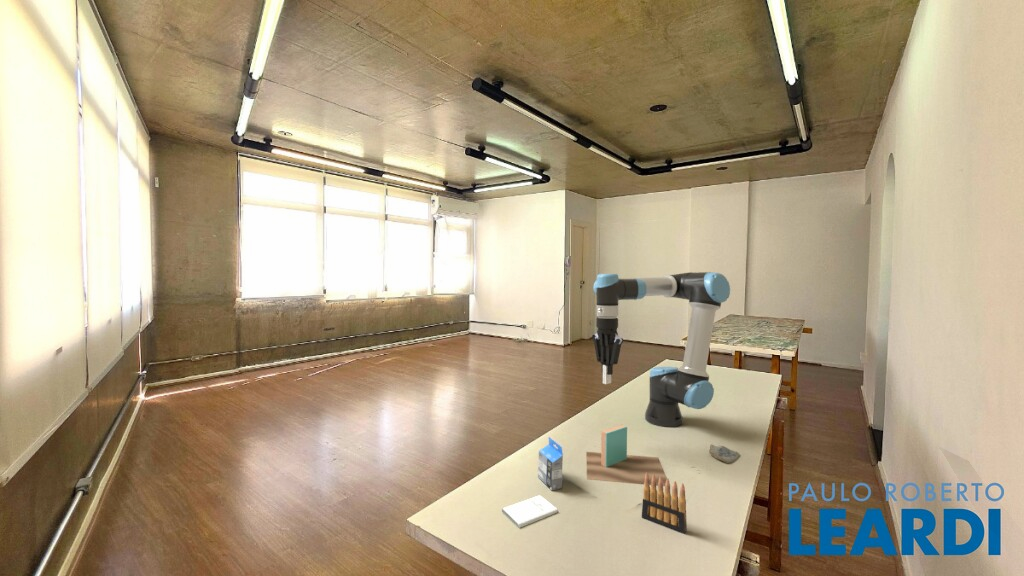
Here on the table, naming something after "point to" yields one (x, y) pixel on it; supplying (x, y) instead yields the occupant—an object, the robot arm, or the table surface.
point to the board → (625, 469)
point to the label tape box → (551, 465)
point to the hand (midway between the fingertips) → (607, 382)
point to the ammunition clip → (664, 505)
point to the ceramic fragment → (724, 454)
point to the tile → (613, 445)
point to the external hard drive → (529, 511)
